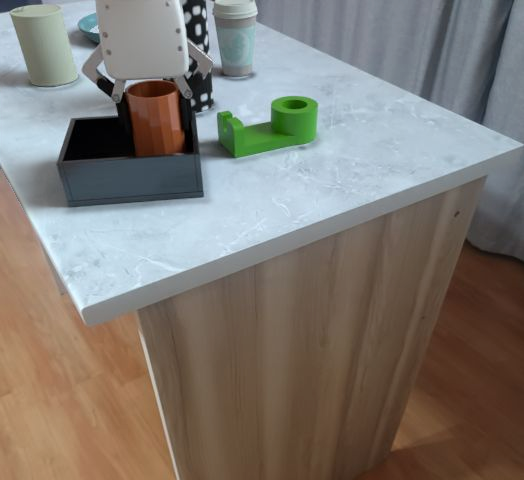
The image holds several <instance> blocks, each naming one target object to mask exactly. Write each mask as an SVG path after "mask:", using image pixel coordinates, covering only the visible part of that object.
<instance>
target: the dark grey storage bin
mask: <svg viewBox="0 0 524 480" xmlns="http://www.w3.org/2000/svg"><path fill="white" fill-rule="evenodd" d="M192 116H193V121H188V128H189V130H188V131H185V130H184V134H185V143H186V152H187V153H175V154H160V155H146V156H137V155H136V150H135V144H134V139H133V134H132V133H131V134H128V135H127V134H126V130H125V126H120V123H119V118H118V114H114V115H113V114H112V115H100V116H98V115H97V116H83V117H82V116H81V117H71V118H70V120H69V124H68V127H67V130H66V133H65V136H64V139H63V141H62V145H61V148H60V151H59V155H58V157H57V161H56V162H55V163H56V164H55V165H56V168H57V171H58V175H59V178H60V182H61V185H62V188H63V190H64V194H65V198H66V201H67V205H68V208H70V207H71V208H74V207H86V206H99V205H101V206H102V205H111V204H112V205H113V204H114V205H115V204H123V203H126V204H127V203H139V202H150V201H151V202H153V201H164V200H177V199H179V200H180V199H192V198H204V197H205V194H204V193H205V192H204V183H203V172H202V162H201V151H200V142H199V135H198V133H199V132H198V124H197V115H196V112H195V110H194V111H192Z"/></svg>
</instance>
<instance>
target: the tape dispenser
mask: <svg viewBox="0 0 524 480" xmlns="http://www.w3.org/2000/svg"><path fill="white" fill-rule="evenodd" d="M318 113H319V103H318V102H317V100H315V99H313V98H311V97H307V96H302V95H287V96H281V97H278V98H276V99H274V100H272V101H271V103H270V121H266V122H265V121H264V122H261V123H255V124H251V125H246V126H244V123H243V122H242V121H241V120H240V119H239V118H238V117H236V116H233V113H232V112H231V111H230V110H224V111H219V112H217V113H216V123H217V124H216V125H217V138H218V143H220V144H221V146H223V147H224V148H225V150H227V151H228V152H229V154H231V155H232V157H234V158H235V159H237V158H242V157H247V156H251V155H255V154H260V153H264V152H268V151H273V150H278V149H283V148H286V147H292V146H298V145H305V144H308V143H311V142H312V141H314V140H315V139H316V137H317V129H318Z"/></svg>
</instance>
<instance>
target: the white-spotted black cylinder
mask: <svg viewBox="0 0 524 480" xmlns="http://www.w3.org/2000/svg"><path fill="white" fill-rule="evenodd" d="M181 3H182V8H183V15H184V22H185V28H186V35H187V38H189V39H190V40H191V41H192V42H193V43H195V44H196V45H197V46H198V47H199V48H200V49H202V50H203V51H204V52H205V53H206V54H208V55H209V56H210V57H211V51H210V50H211V49H210V38H209V36H210V35H209V24H208V11H207V10H208V8H207V0H181ZM198 65H199V63H198V62H197V61H196V60H195V59H194V58H192V57H191V56H190V55H189V69H188V72H187V73H186V74H185V75H186V77H187V78H189V77H190V76H191V74H192V73H193V72H194V71H195V70H196V68H197V67H198ZM162 80H167V81H171V82H174V83H175V81H174V80H173V78H162ZM179 92H180V90H179ZM214 104H215V103H214V89H213V80H212V68H211V69H210V71H209V72H208V74H207V75H206V76H205V77H204V79H203V81H202V83H201V84H200V85H199V87H198V88H197V89H196V90H195V92H194V93H193V94H192V97H191V107H192V111H194V110H195V113H200V112H205V111H206V110H209V109H210V108H212V107H213V106H214Z"/></svg>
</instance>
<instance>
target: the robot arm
mask: <svg viewBox="0 0 524 480" xmlns="http://www.w3.org/2000/svg"><path fill="white" fill-rule="evenodd" d="M95 11H96V12H95V13H97V21H98V29H99V35H100V42H101V43H98V45H97V46H96V47H95V49H94V50H93V51H92V52H91V54H90V55H89V57H88V58H87V59H86V61H84V63H83V64H82V67H81V73H82V74H83V75H84V76H85V77H86V78H88V80H90V81H91V82H92V83H93V84H95V85H96V87H97V88H98V89H99V90H100V91H101V92H103V93H104V94H105V95H106V96H107V97H109V98H110V99H111V101H112V102H113V103H114V105H115V108H116V113H117V115H118V118H119V123H120V126H125V130H126V134H127V135H128V134H131V133H132V128H131V123H130V117H129V112H128V107H127V102H126V97H125V89H126V83H127V81H145V80H162V79H163V78H173V80H174V81H175V83H176V85H177V86H178V88H179V90H180V107H181V116H182V124H183V130H185V131H188V130H189V128H188V121H193V116H192V107H191V97H192V94H193V93H194V92H195V90H196V89H197V88H198V87H199V85H200V84H201V83H202V81H203V79H204V77H205V76H206V75H207V74H208V72H209V71H210V69H211V70H212V68H213V67H214V61H213V57H211V55H210V56H209V55H208V54H206V53H205V52H204V51H203V50H202V49H200V48H199V47H198V46H197V45H196V44H195V43H193V42H192V41H191V40H190V39H189V38H187V35H186V28H185V22H184V15H183V8H182V3H181V0H95ZM189 55H190V56H191V57H192V58H194V59H195V60H196V61H197V62H198V63H199V65H198V67H197V68H196V70H195V71H194V72H193V73H192V74H191V76H190V77H189V78H187V77H186V75H185V74H186V73H187V72H188V69H189ZM102 62H103V64H104V68H105V71H106V75H108V77H110V78H111V79H113V80H114V82H113V81H112V80H111V79H109V78H108V77H107V76H106V75H104V74H102V73H101V71H100V70H99V69H98V67H99V66H100V64H101V63H102Z"/></svg>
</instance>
